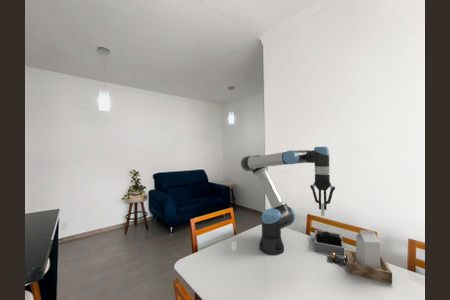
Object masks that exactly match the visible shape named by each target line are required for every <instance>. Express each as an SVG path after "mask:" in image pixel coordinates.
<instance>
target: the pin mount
mask: <svg viewBox="0 0 450 300" xmlns="http://www.w3.org/2000/svg"><path fill="white" fill-rule="evenodd" d="M339 255H343V253H339ZM345 262H346V261H344V258H340V260H338V259H335V260H333V259H332V256H329V255H327V263H331V264H336V265H340V266H346V263H345Z"/></svg>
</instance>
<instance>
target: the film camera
mask: <svg viewBox="0 0 450 300" xmlns="http://www.w3.org/2000/svg"><path fill="white" fill-rule="evenodd" d="M329 232H330V231H326V232H323V233H321V234H320V233H318V234H315V233H314V237H315V236H316V239H317V242H318V243H324V244H329V245H334V246H340V247H341V242H342V240H343V238H342V239H341V238H340V236H337V235H331V234H330V233H329Z"/></svg>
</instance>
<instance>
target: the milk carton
mask: <svg viewBox="0 0 450 300" xmlns="http://www.w3.org/2000/svg"><path fill="white" fill-rule="evenodd" d="M355 245H356V246H355V251H356V264H358V265H362V266H367V267H372V268H376V269H380V256H381V241H380V239H379V238H378V236H377V234H376V231H375V230H359V233H357V234H356V235H355Z"/></svg>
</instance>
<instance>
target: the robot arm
mask: <svg viewBox="0 0 450 300" xmlns="http://www.w3.org/2000/svg"><path fill="white" fill-rule="evenodd" d="M304 163H307V164H314V183H312V184H310V185H309V187H310V189H311V191H312V194H313V198H314V201H315V203H316V204H318V210H321V211H320V214H321V215H320V216H322V217H325V211H326V210H327V206H328V204H331V201H332V198H333V197H332V196H333V193H334V191H335V189H336V186H334V185H332V184H331V182H330V181H331V180H330V179H331V177H330V148H329V147H328V146H315V147H314V148H313V150H307V149H305V150H304V149H303V150H300V149H299V150H293V149H292V150H287V151H283V152H276V153H270V154H265V155H264V154H263V155H259V154H256V155H246V156H244V157H243V158H242V159H241V161H240V166H241V168H242V170H244V171H246V172H252V174H253V175H254V176H255V177H257V180H258V181H259V183H260V186H261V187H262V190H263V193H264V194H265V196H266V198H267V201H268V203H269V204H270V206H271V207H270V208H267V209H264V210H263V211H262V213H261V218H260V219H261V237H260V240H259V242H258V243H259V244H258V245H259V246H258V249H259V250H260V251H261V252H262V253H265V254H267V255H271V256H277V255H281V254H283V253H284V252H285V245H284V242H283V240H282V229H284V228H287V227H289V226H292V224H293V223H295V221H296V213H295V211H294V209H293V208H292V207H290V206H288V204H287V203H286V202H285V201H283V199H282V198H281V195H280V194H279V192H278V190H277V188H276V186H275V184H274V182H273V180H272V177H271V176H270V174H269V172H268V170H269V167H277V166H283V165H284V166H286V165H287V166H288V165H294V164H296V165H297V164H304ZM315 188H316V189H317V191H318V197H317V193H316V190H315ZM328 189H330V191H329V195H328V197H327V191H328ZM322 191H323V202H322Z"/></svg>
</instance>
